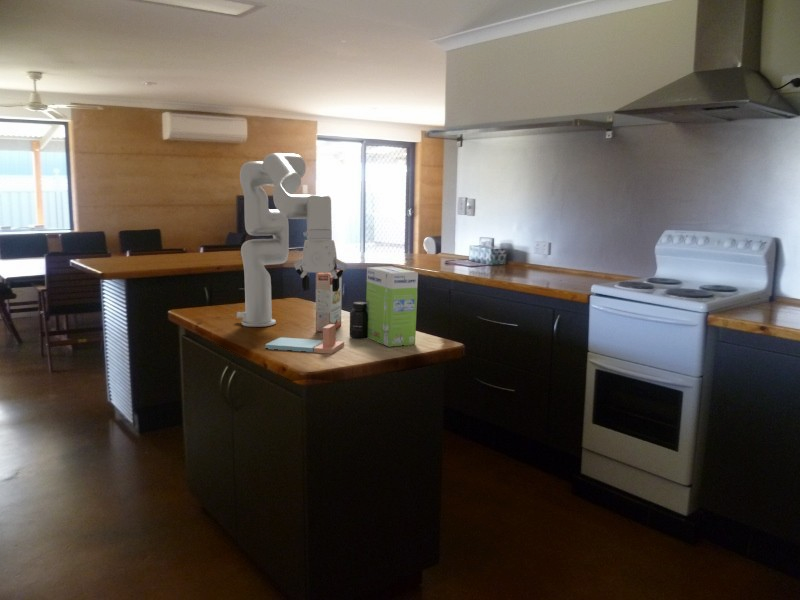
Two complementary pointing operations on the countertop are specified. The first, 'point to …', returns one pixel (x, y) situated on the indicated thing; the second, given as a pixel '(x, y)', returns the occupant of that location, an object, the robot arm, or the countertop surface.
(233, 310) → the countertop surface
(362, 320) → the supplement bottle
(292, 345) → the light blue flat slab
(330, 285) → the cracker box
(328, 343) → the stub
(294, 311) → the countertop surface
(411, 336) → the toothbrush box
